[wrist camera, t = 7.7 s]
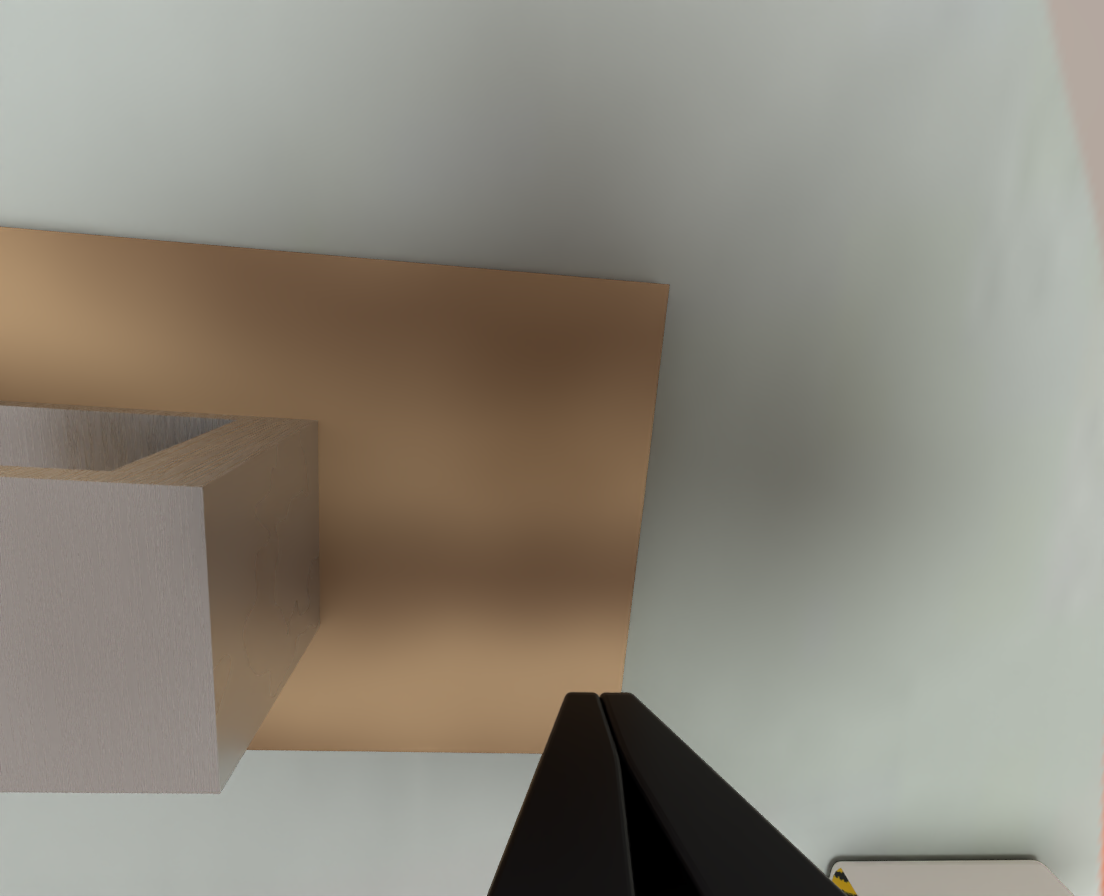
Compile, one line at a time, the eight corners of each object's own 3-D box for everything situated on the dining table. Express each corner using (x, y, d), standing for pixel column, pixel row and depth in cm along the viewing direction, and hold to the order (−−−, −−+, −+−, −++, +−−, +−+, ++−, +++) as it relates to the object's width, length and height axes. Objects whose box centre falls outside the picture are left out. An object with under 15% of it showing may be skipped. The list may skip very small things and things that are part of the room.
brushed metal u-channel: (220, 793, 9) (-362, 789, 8) (319, 625, 14) (-43, 614, 13) (202, 487, 8) (-470, 452, 7) (318, 420, 13) (-79, 395, 12)
